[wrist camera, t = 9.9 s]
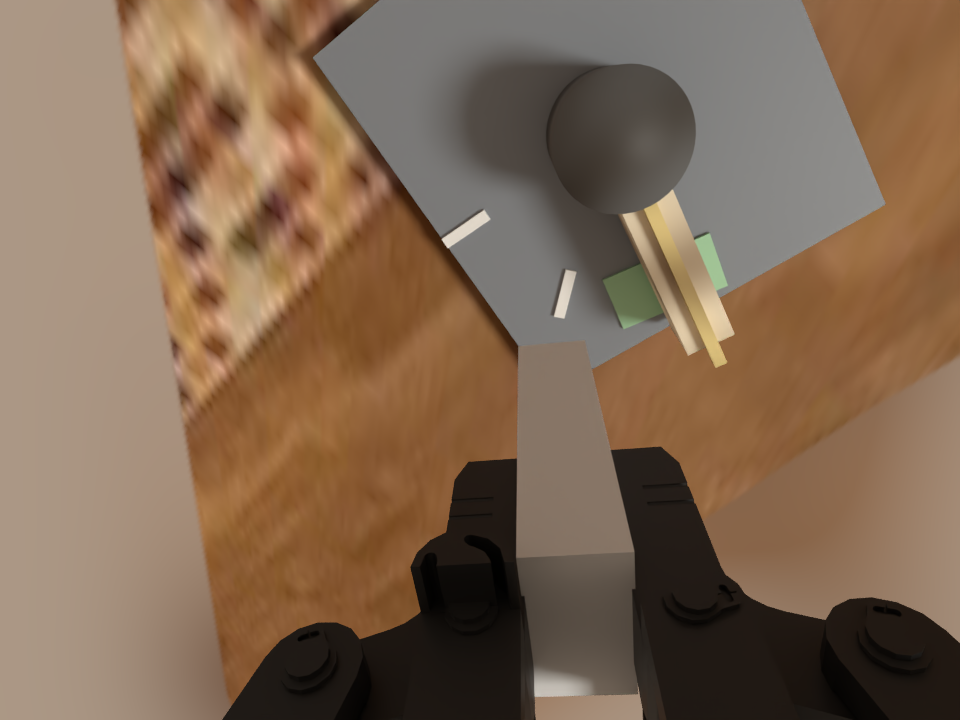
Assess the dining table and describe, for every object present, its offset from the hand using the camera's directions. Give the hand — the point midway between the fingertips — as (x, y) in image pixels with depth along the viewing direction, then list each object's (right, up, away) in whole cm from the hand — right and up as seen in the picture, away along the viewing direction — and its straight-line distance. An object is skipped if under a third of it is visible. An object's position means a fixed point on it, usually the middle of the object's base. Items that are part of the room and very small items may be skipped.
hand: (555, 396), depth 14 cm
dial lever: (+7, +9, +17) cm, 21 cm away
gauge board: (+5, +13, +17) cm, 22 cm away
